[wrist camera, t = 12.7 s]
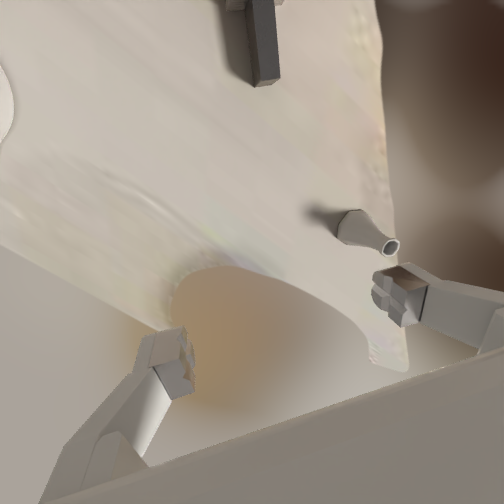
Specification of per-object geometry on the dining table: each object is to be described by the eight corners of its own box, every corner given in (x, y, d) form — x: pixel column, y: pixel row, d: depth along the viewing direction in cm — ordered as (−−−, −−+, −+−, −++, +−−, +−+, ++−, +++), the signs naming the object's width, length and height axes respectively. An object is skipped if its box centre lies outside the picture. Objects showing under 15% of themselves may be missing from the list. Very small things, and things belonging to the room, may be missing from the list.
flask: (360, 247, 48) (396, 271, 39) (330, 240, 46) (362, 264, 37) (376, 213, 45) (419, 231, 36) (346, 205, 43) (384, 222, 34)
